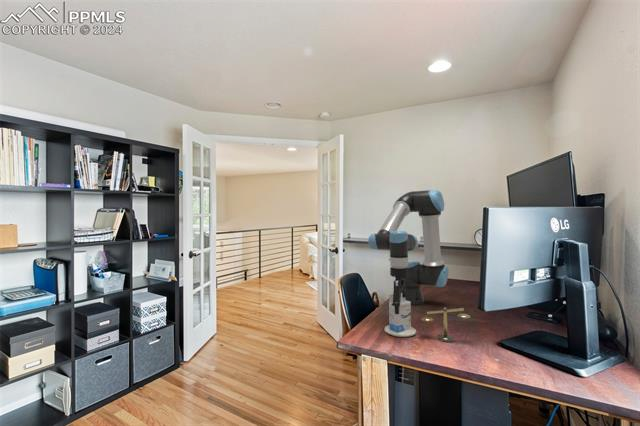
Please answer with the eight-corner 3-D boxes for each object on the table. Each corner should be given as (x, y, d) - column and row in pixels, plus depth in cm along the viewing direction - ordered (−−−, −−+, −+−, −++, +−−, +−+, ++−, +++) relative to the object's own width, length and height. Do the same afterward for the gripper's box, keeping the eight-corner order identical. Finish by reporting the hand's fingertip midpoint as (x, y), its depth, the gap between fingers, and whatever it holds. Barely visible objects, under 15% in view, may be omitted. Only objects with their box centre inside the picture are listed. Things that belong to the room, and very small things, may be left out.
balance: (422, 333, 127) (422, 302, 127) (470, 339, 120) (469, 307, 120) (421, 338, 121) (420, 306, 122) (471, 345, 114) (470, 311, 115)
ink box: (397, 333, 125) (397, 297, 125) (388, 329, 129) (388, 295, 129) (411, 328, 129) (410, 294, 130) (402, 325, 133) (401, 292, 134)
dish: (387, 325, 137) (387, 322, 137) (417, 329, 132) (417, 326, 132) (381, 335, 125) (381, 332, 125) (414, 340, 120) (414, 337, 120)
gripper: (395, 262, 142) (396, 307, 142) (384, 271, 120) (385, 324, 119) (411, 263, 139) (412, 309, 139) (403, 272, 117) (404, 327, 116)
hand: (400, 316), depth 129 cm, fingers open, 13 cm apart
